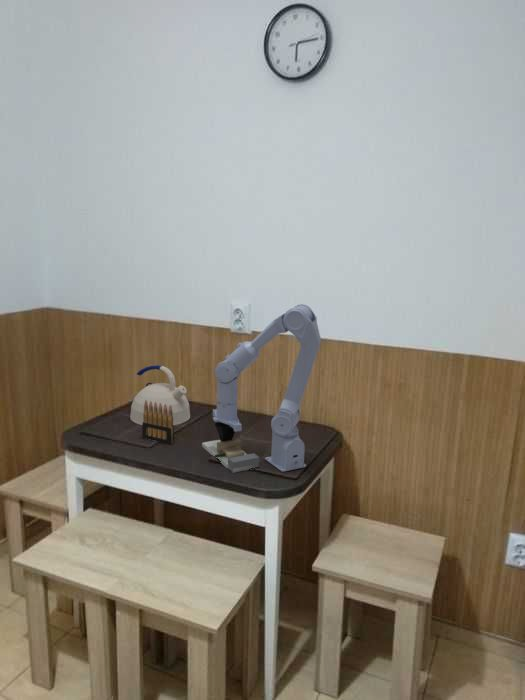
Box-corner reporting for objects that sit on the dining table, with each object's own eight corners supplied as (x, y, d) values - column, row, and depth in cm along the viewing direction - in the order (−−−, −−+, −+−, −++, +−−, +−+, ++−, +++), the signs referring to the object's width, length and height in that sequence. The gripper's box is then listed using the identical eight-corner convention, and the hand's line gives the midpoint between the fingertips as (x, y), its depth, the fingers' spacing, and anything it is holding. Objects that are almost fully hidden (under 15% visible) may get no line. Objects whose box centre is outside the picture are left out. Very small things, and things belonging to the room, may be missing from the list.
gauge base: (259, 467, 146) (259, 457, 146) (232, 473, 142) (233, 462, 142) (226, 442, 163) (226, 432, 162) (202, 446, 159) (202, 437, 159)
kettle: (165, 432, 170) (165, 376, 166) (116, 419, 180) (115, 366, 176) (203, 415, 187) (204, 364, 183) (157, 404, 197) (157, 356, 193)
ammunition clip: (141, 438, 164) (141, 400, 161) (145, 436, 166) (145, 398, 163) (171, 444, 160) (171, 406, 157) (174, 442, 161) (174, 404, 159)
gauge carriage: (247, 454, 151) (247, 444, 150) (218, 460, 146) (218, 450, 145) (238, 448, 155) (239, 438, 154) (210, 453, 150) (210, 443, 150)
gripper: (203, 396, 156) (202, 440, 158) (225, 411, 143) (224, 458, 146) (225, 393, 159) (224, 437, 162) (249, 407, 147) (247, 454, 150)
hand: (225, 447), depth 154 cm, fingers closed
